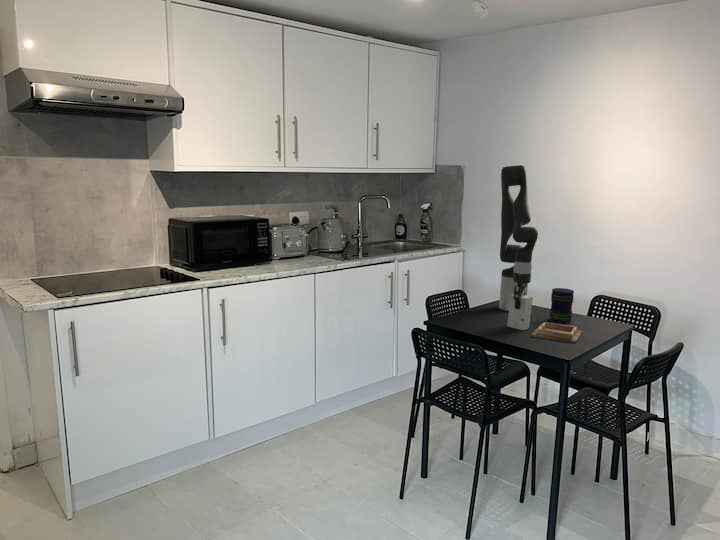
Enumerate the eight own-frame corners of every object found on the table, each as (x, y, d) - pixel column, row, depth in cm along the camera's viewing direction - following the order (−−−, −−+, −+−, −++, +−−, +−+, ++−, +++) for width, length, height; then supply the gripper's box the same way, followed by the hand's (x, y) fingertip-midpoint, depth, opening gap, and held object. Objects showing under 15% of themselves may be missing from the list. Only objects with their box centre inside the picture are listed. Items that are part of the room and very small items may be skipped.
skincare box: (506, 326, 251) (509, 294, 249) (514, 324, 255) (516, 292, 253) (523, 330, 245) (526, 298, 243) (530, 328, 249) (533, 296, 247)
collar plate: (540, 326, 252) (540, 320, 252) (582, 333, 244) (582, 326, 243) (531, 336, 237) (531, 329, 236) (575, 343, 228) (576, 336, 228)
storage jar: (562, 317, 269) (564, 287, 267) (575, 323, 260) (578, 291, 258) (544, 319, 266) (547, 288, 264) (558, 324, 257) (560, 292, 255)
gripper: (517, 268, 254) (515, 303, 256) (509, 272, 241) (507, 309, 244) (534, 270, 250) (531, 305, 253) (527, 274, 238) (524, 311, 240)
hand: (519, 307), depth 248 cm, fingers open, 8 cm apart
